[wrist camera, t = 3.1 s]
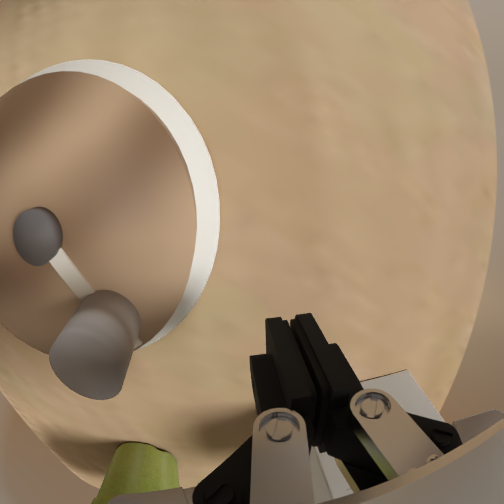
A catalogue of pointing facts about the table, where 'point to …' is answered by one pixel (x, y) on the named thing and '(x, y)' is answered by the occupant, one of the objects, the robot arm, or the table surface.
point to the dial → (90, 225)
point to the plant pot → (138, 472)
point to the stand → (194, 158)
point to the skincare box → (406, 395)
